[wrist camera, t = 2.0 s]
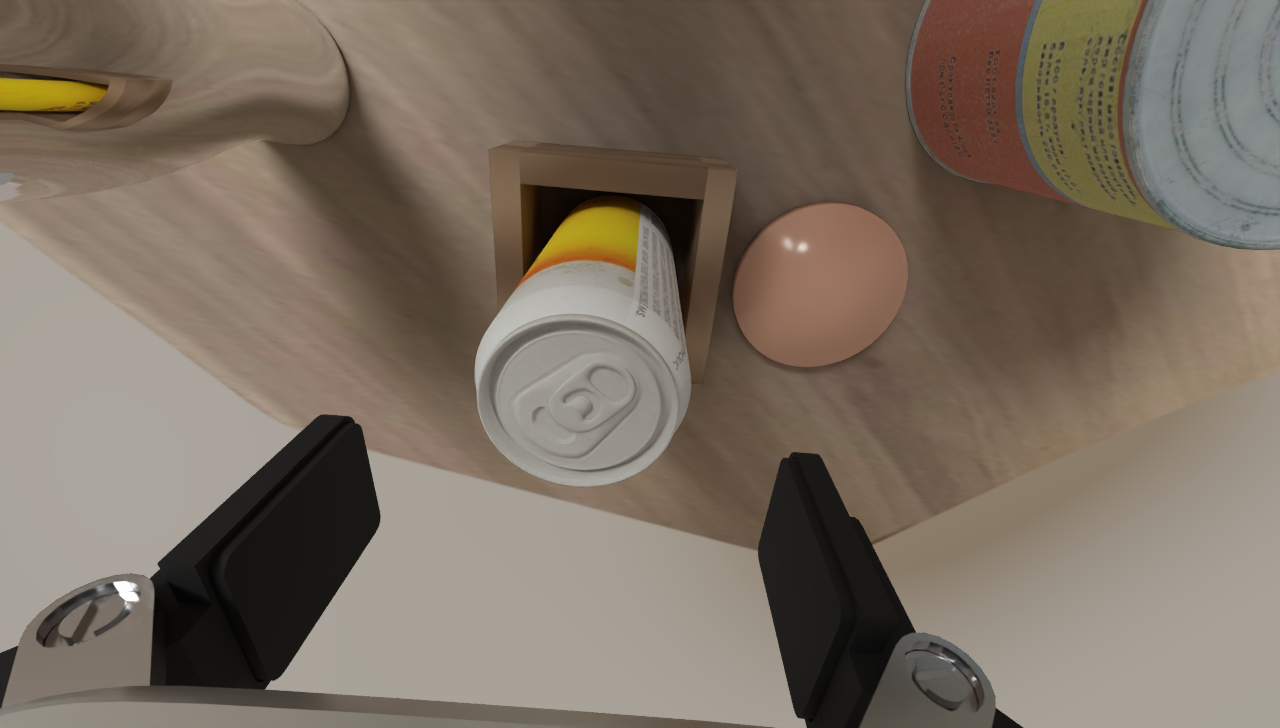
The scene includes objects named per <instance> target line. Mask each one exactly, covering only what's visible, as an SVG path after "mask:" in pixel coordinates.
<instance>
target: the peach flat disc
mask: <svg viewBox="0 0 1280 728" xmlns="http://www.w3.org/2000/svg"><path fill="white" fill-rule="evenodd" d="M907 283H908V263H907V257H906V253H905V250H904V247H903V245H902V243H901V241H900V239H899V237H898V236H897V234H896V233H895V232H894V230H893V229H892V228H891V227H890V226H889V225H888V224H887V223H886V222H885V221H883V220H882V219H881V218H879V217H878V216H876V215H875V214H873V213H871V212H869V211H867V210H865V209H863V208H861V207H858V206H855V205H851V204H847V203H841V202H820V203H813V204H808V205H804V206H801V207H798V208H796V209H793V210H790V211H789V212H787V213H785V214H783V215H781V216H779V217H778V218H776V219H775V220H773V221H772V222H770V223H769V224H768V225H767V226H766V227H764V228H763V229H762V230H761V231H760V232H759V233H758V234H757V235H756V236H755V237H754V239H753V240H752V241H751V242H750V244H749V245H748V247H747V248H746V249H745V251H744V253H743V255H742V257H741V258H740V260H739V263H738V266H737V268H736V271H735V275H734V279H733V286H732V302H733V308H734V312H735V315H736V318H737V321H738V324H739V326H740V328H741V330H742V332H743V334H744V335H745V337H746V338H747V340H748V341H749V342H750V343H751V344H752V345H753V346H754V348H755V349H757V350H758V351H759V352H761V353H762V354H763V355H765V356H767V357H768V358H770V359H772V360H774V361H777V362H779V363H782V364H786V365H790V366H797V367H817V366H824V365H829V364H833V363H836V362H839V361H842V360H844V359H847V358H849V357H851V356H853V355H855V354H857V353H859V352H860V351H862V350H863V349H865V348H866V347H868V346H869V345H870V344H872V343H873V342H874V341H875V340H876V339H877V338H878V337H880V335H881V334H882V333H883V332H884V331H885V330H886V329H887V328H888V326H889V325H890V324H891V322H892V321H893V320H894V318H895V316H896V314H897V313H898V311H899V309H900V307H901V304H902V302H903V300H904V296H905V293H906V289H907Z"/></svg>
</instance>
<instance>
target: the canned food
mask: <svg viewBox="0 0 1280 728" xmlns="http://www.w3.org/2000/svg"><path fill="white" fill-rule="evenodd" d="M906 101H907V107H908V112H909V116H910V120H911V123H912V126H913V129H914V131H915V133H916V136H917V138H918V139H919V141H920V143H921V145H922V146H923V148H924V149H925V150H926V152H927V153H928V154H929V155H930V156H931V157H932V158H933V159H934V160H935V161H936V162H937V163H938V164H939V165H940V166H942V167H943V168H944V169H946V170H948V171H949V172H951V173H953V174H955V175H957V176H959V177H962V178H964V179H968V180H971V181H975V182H980V183H986V184H996V185H1000V186H1003V187H1007V188H1011V189H1015V190H1019V191H1023V192H1027V193H1031V194H1035V195H1039V196H1043V197H1047V198H1051V199H1055V200H1059V201H1063V202H1067V203H1071V204H1075V205H1078V206H1082V207H1086V208H1090V209H1094V210H1098V211H1102V212H1106V213H1110V214H1114V215H1118V216H1122V217H1126V218H1130V219H1134V220H1138V221H1142V222H1146V223H1149V224H1153V225H1157V226H1161V227H1165V228H1169V229H1173V230H1177V231H1181V232H1183V233H1185V234H1188V235H1190V236H1192V237H1194V238H1196V239H1199V240H1203V241H1206V242H1209V243H1213V244H1216V245H1220V246H1226V247H1232V248H1237V249H1250V250H1275V249H1280V0H926V1H925V4H924V6H923V8H922V10H921V13H920V15H919V18H918V21H917V23H916V26H915V29H914V32H913V36H912V40H911V44H910V48H909V53H908V59H907V67H906Z"/></svg>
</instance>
